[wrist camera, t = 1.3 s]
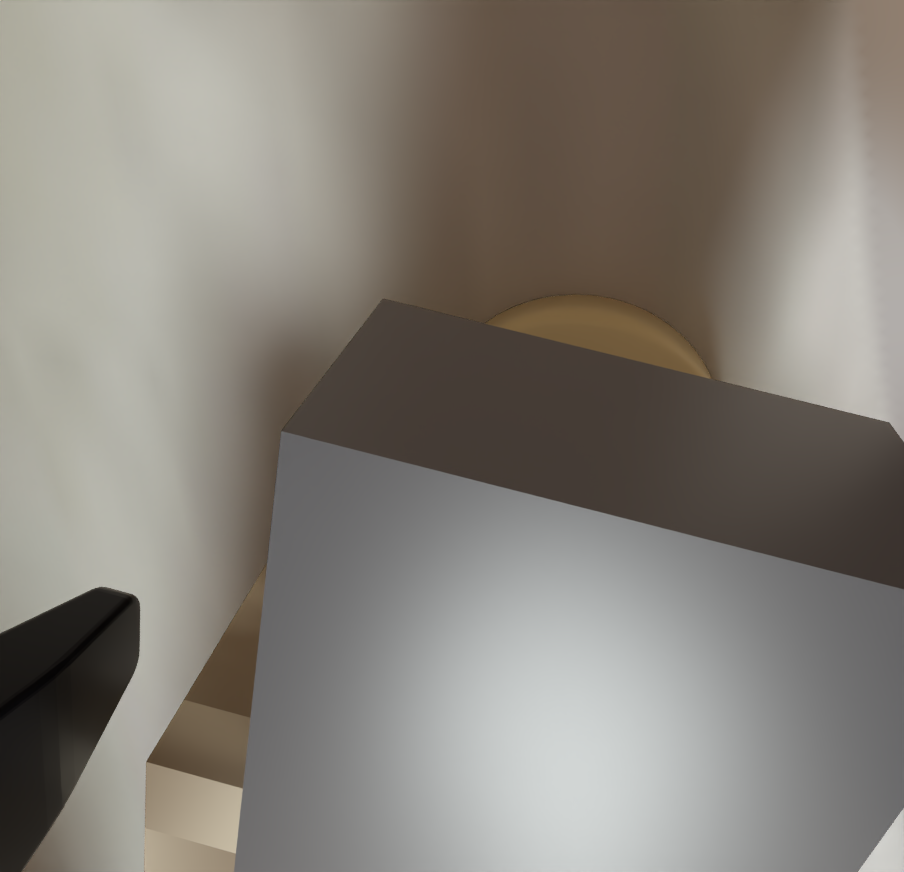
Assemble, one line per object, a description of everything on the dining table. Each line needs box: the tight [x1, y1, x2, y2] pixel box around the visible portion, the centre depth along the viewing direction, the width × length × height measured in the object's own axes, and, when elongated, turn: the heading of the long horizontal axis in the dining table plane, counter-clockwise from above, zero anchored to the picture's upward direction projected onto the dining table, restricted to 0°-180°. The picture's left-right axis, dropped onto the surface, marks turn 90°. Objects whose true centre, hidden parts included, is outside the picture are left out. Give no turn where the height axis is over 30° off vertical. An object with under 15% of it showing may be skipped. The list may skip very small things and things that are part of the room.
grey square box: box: [234, 294, 904, 872], centre depth 11 cm, size 6×6×7 cm
